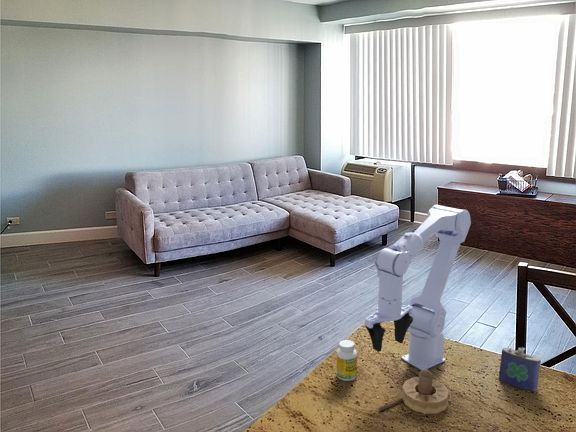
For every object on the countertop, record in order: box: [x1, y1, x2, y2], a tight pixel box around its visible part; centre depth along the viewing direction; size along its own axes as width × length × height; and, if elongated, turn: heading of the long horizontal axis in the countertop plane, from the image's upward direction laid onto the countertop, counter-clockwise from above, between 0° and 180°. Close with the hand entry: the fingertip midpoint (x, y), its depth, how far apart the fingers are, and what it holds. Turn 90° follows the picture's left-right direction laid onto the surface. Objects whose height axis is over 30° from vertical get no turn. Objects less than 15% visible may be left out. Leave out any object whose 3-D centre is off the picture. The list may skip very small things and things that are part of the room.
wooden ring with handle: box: [378, 376, 450, 415], centre depth 120 cm, size 18×10×3 cm, turn 123°
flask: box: [498, 346, 542, 393], centre depth 126 cm, size 9×3×11 cm, turn 50°
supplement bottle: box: [336, 339, 358, 382], centre depth 132 cm, size 5×5×10 cm
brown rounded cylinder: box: [418, 369, 434, 396], centre depth 121 cm, size 3×3×8 cm
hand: (388, 345), depth 128 cm, fingers open, 7 cm apart
